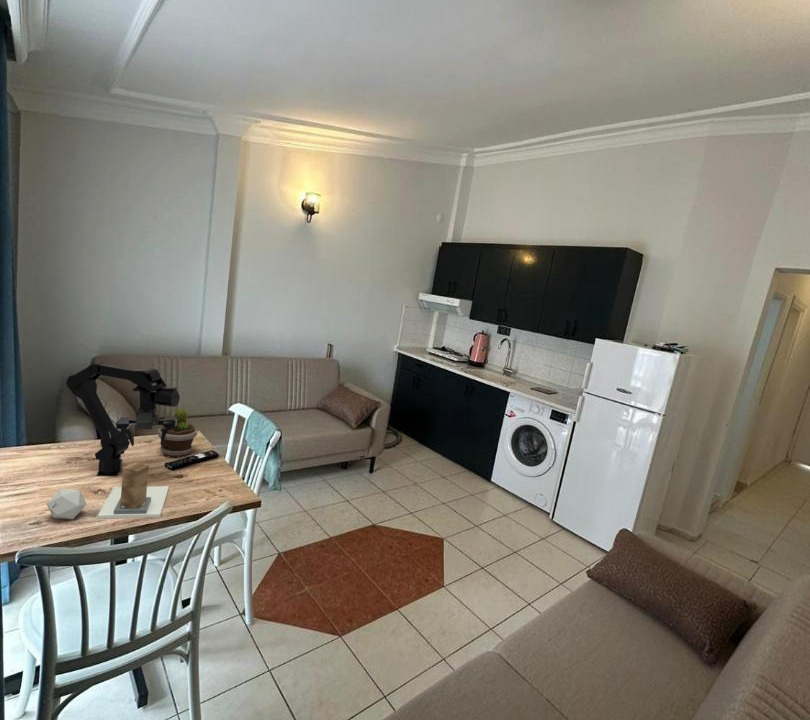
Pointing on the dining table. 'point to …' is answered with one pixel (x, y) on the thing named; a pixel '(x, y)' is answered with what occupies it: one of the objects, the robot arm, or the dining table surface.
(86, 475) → the dining table surface
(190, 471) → the dining table surface
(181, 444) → the flowerpot
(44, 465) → the dining table surface
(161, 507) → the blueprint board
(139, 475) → the brown paper bag
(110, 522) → the dining table surface
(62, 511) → the die
